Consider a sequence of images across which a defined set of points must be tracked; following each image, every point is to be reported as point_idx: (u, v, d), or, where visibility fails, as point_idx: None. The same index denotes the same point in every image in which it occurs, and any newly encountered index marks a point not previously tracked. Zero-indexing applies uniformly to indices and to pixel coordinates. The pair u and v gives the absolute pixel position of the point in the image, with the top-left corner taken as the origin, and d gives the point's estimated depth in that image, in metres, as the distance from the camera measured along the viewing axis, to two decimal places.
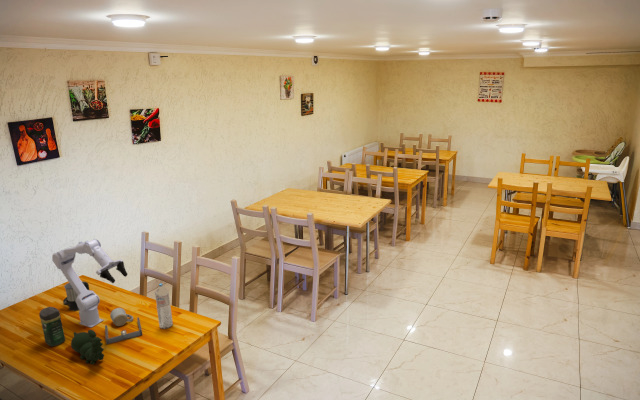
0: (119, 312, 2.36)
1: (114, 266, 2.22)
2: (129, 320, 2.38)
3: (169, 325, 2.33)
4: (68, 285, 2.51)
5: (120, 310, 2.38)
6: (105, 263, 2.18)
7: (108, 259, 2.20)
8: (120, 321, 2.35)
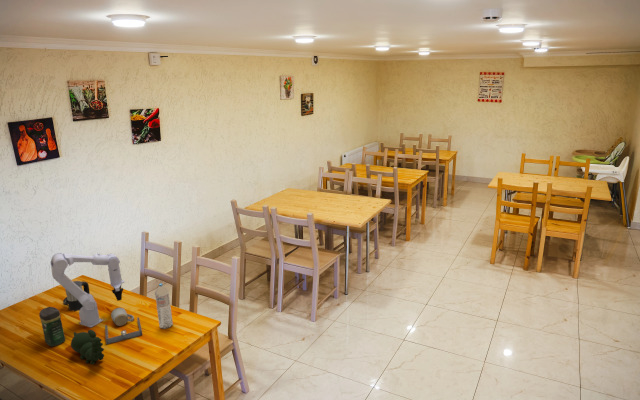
0: (120, 312, 2.36)
1: None
2: (130, 320, 2.39)
3: (169, 325, 2.33)
4: None
5: (121, 310, 2.38)
6: (120, 281, 2.42)
7: None
8: (121, 321, 2.35)
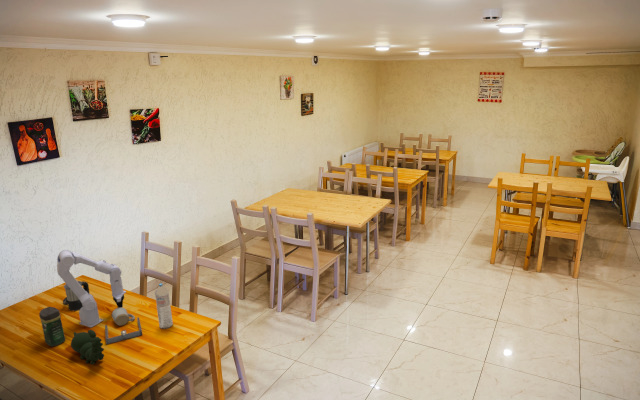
0: (121, 312, 2.36)
1: None
2: (130, 320, 2.39)
3: (169, 325, 2.33)
4: None
5: (122, 310, 2.38)
6: (121, 292, 2.43)
7: (122, 288, 2.45)
8: (121, 320, 2.35)
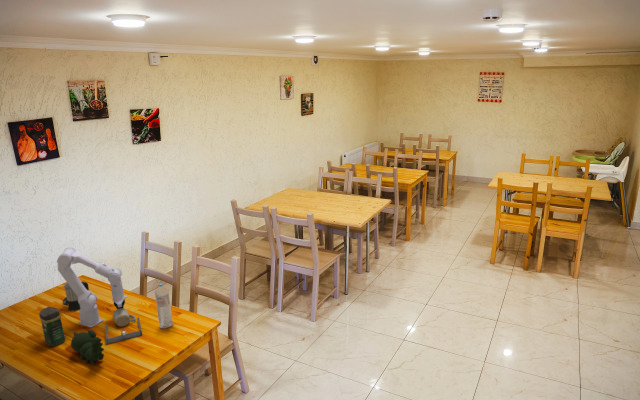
0: (121, 312, 2.35)
1: None
2: (131, 320, 2.38)
3: (169, 325, 2.33)
4: (67, 285, 2.51)
5: (122, 310, 2.37)
6: (122, 297, 2.38)
7: (123, 293, 2.40)
8: (122, 321, 2.34)
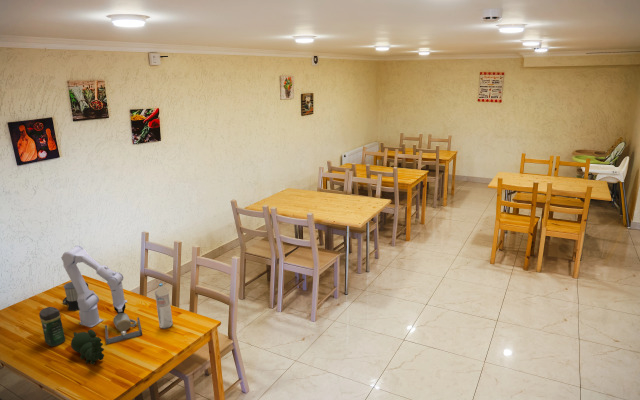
0: (122, 317, 2.30)
1: None
2: (132, 325, 2.33)
3: (169, 325, 2.33)
4: (67, 285, 2.51)
5: (123, 315, 2.33)
6: (123, 301, 2.33)
7: None
8: (123, 326, 2.29)
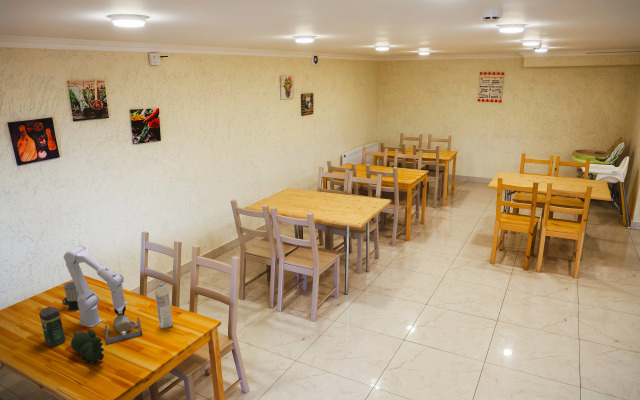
0: (123, 319, 2.29)
1: None
2: (133, 327, 2.32)
3: (169, 325, 2.33)
4: (67, 285, 2.51)
5: (124, 317, 2.31)
6: (123, 303, 2.31)
7: None
8: (124, 328, 2.28)
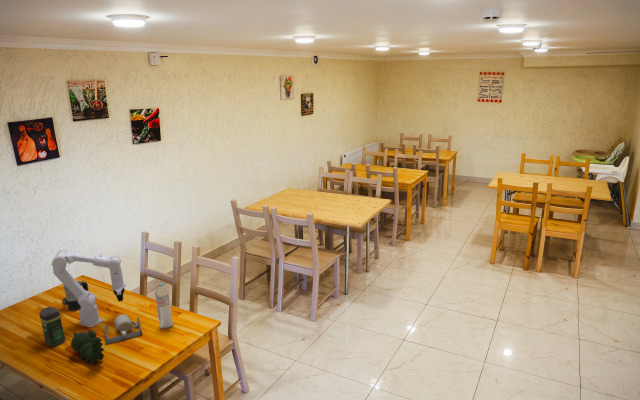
0: (123, 319, 2.29)
1: None
2: (134, 327, 2.32)
3: (169, 325, 2.33)
4: None
5: (124, 317, 2.31)
6: (122, 285, 2.38)
7: None
8: (124, 328, 2.28)
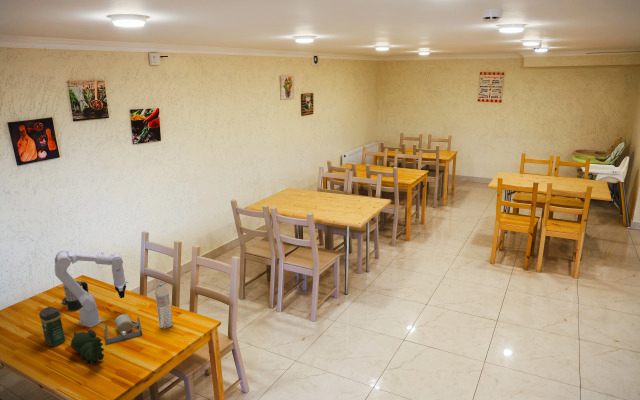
0: (124, 319, 2.29)
1: None
2: (134, 327, 2.32)
3: (169, 325, 2.33)
4: None
5: (125, 317, 2.31)
6: (123, 281, 2.41)
7: (124, 278, 2.43)
8: (125, 328, 2.28)
